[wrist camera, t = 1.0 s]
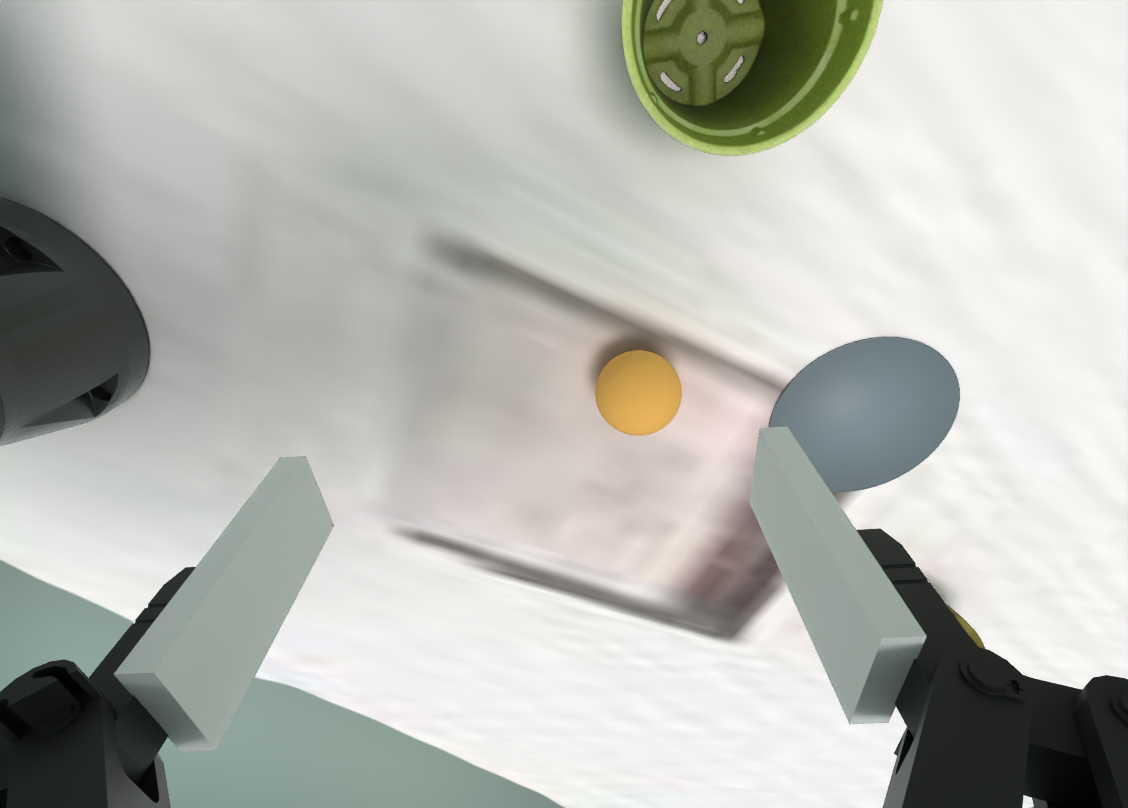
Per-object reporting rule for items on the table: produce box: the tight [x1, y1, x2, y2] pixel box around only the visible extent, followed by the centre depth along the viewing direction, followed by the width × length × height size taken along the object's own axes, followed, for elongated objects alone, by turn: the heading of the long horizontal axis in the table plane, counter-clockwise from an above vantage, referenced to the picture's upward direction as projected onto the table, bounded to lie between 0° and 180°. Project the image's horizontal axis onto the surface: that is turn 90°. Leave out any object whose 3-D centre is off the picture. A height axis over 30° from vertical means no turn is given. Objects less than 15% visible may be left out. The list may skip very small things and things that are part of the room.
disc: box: [769, 337, 960, 492], centre depth 38 cm, size 13×13×1 cm
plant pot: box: [621, 0, 883, 156], centre depth 23 cm, size 9×9×9 cm
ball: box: [595, 350, 682, 436], centre depth 34 cm, size 6×6×6 cm
